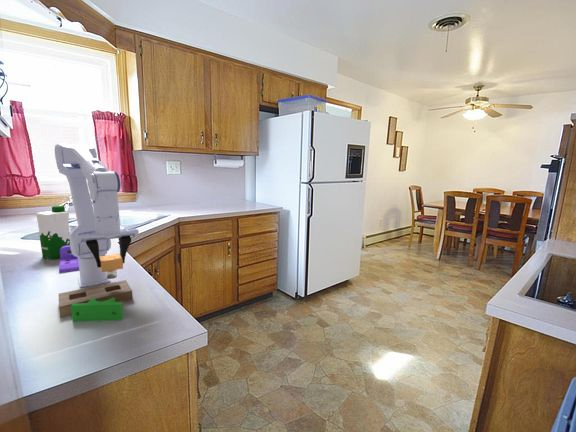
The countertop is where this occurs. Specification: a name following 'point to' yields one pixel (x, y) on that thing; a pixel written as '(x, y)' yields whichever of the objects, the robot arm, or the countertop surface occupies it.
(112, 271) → the orange block
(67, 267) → the bracket
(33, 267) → the countertop surface
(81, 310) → the pipe clamp
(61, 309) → the board
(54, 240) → the milk carton
